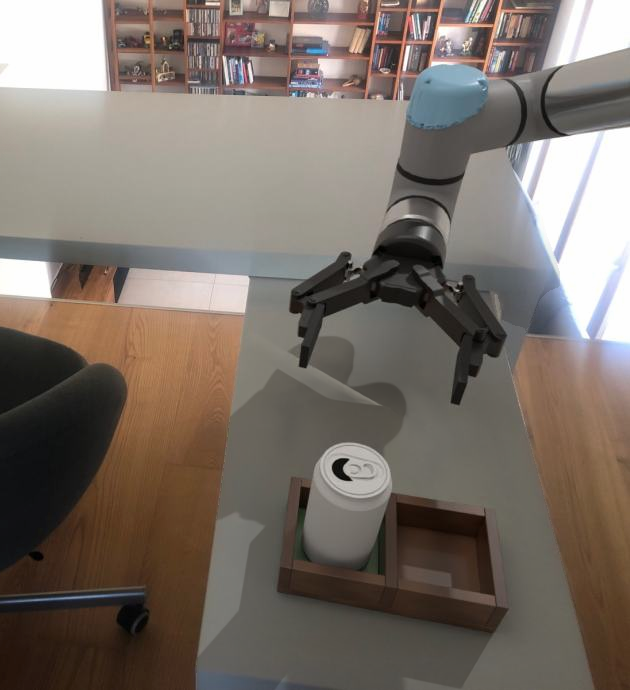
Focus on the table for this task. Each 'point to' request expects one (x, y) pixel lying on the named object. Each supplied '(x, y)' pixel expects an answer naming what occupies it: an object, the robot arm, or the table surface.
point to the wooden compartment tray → (408, 563)
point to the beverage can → (346, 506)
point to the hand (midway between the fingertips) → (378, 375)
